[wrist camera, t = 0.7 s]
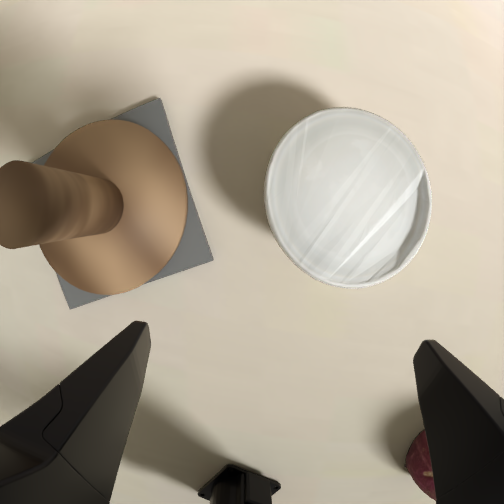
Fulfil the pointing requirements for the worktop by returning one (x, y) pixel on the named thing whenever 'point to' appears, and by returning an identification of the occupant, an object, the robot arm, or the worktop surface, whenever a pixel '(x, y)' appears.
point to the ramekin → (347, 197)
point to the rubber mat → (193, 240)
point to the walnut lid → (98, 206)
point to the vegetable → (421, 465)
